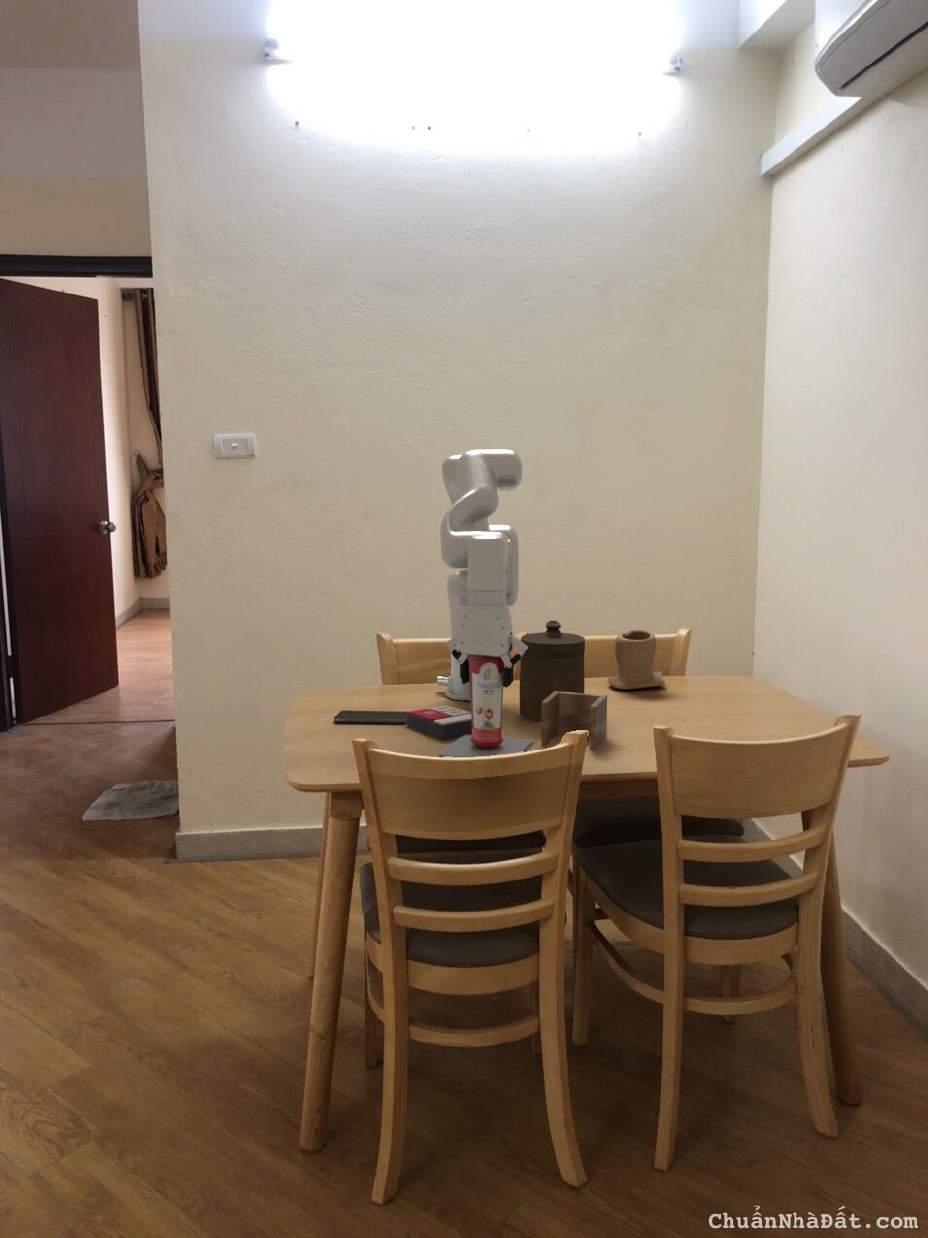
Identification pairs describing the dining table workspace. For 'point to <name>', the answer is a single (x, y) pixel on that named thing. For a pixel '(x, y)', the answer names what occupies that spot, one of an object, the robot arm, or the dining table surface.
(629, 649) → the stone cup
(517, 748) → the slate mat
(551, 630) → the wooden container
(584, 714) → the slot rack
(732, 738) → the dining table surface
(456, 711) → the navy red white box
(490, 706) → the liquor
